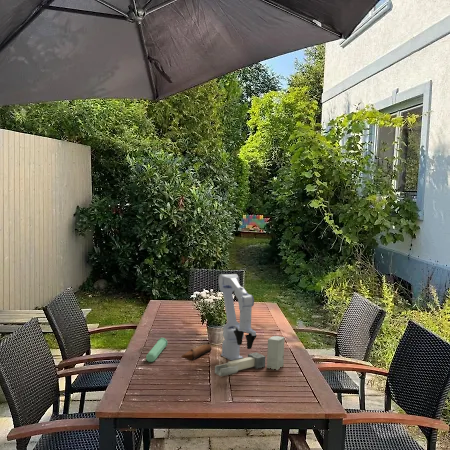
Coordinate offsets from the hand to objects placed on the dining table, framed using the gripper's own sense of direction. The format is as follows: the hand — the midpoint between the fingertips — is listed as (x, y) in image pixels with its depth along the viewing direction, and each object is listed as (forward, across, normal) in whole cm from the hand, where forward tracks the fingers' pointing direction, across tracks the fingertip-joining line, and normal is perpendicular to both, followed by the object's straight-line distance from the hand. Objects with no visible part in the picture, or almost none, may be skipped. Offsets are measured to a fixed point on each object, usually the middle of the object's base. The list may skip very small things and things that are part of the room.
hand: (244, 346), depth 238 cm
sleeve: (+10, +2, -12) cm, 16 cm away
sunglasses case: (+11, -28, -10) cm, 32 cm away
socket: (+10, +2, +7) cm, 13 cm away
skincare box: (+11, +8, +14) cm, 19 cm away
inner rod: (+10, +2, -2) cm, 11 cm away
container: (+10, -38, -28) cm, 49 cm away
